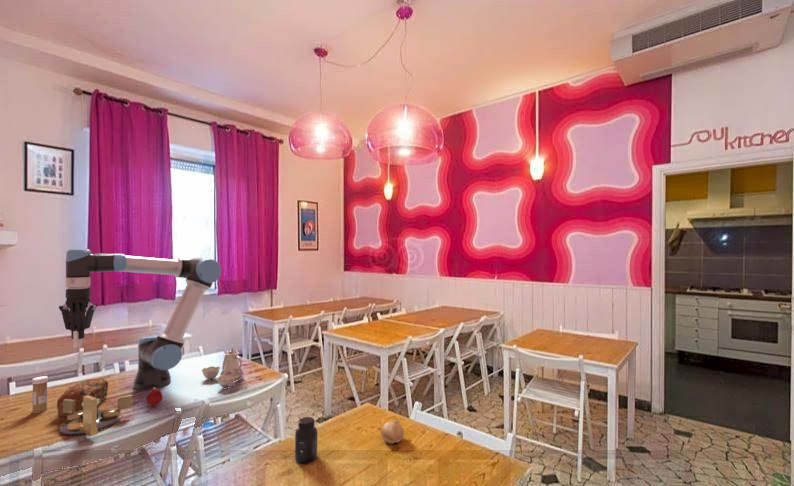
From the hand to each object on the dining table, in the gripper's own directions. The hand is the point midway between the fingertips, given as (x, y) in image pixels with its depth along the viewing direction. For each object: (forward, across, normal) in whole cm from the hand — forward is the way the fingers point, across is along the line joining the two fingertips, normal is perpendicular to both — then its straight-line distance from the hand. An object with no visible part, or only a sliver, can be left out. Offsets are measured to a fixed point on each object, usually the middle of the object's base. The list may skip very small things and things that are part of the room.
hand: (77, 346), depth 151 cm
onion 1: (+27, +27, +4) cm, 38 cm away
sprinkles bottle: (+26, -16, +3) cm, 31 cm away
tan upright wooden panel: (+24, +16, -19) cm, 35 cm away
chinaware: (+27, +46, +32) cm, 62 cm away
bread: (+27, -2, +6) cm, 27 cm away
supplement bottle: (+27, +96, -40) cm, 107 cm away
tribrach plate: (+26, +13, -10) cm, 31 cm away
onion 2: (+27, +124, -31) cm, 130 cm away
